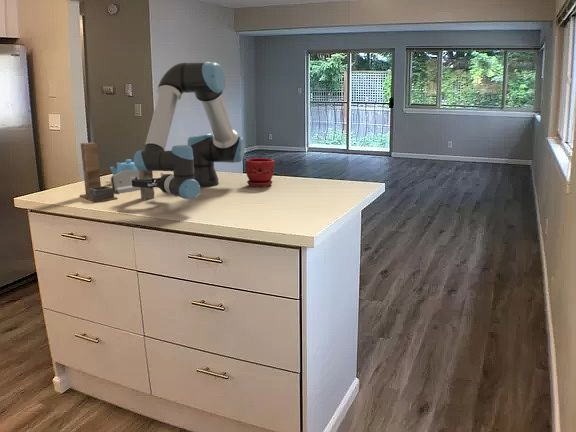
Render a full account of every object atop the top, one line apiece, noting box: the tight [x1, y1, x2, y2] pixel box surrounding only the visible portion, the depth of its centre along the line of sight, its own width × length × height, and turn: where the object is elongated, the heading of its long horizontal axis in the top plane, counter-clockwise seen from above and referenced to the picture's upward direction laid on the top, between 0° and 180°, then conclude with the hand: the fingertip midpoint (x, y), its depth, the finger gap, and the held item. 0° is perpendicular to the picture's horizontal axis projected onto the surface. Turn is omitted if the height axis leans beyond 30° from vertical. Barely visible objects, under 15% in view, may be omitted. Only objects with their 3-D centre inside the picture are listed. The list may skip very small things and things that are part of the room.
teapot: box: [109, 158, 139, 176], centre depth 276 cm, size 15×15×11 cm
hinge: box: [110, 170, 141, 194], centre depth 256 cm, size 17×5×10 cm, turn 138°
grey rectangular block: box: [139, 170, 155, 200], centre depth 236 cm, size 4×4×16 cm
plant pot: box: [245, 158, 275, 188], centre depth 261 cm, size 13×13×12 cm
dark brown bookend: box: [79, 142, 118, 203], centre depth 238 cm, size 17×10×23 cm, turn 40°
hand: (146, 177), depth 234 cm, fingers open, 13 cm apart
